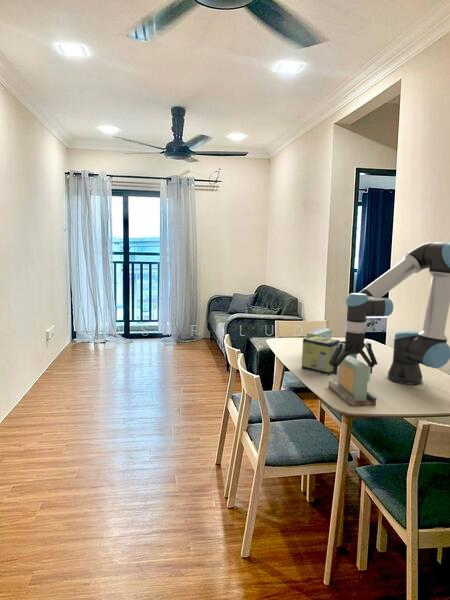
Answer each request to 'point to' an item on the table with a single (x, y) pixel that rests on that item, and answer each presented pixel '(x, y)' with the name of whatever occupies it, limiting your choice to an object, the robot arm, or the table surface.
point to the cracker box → (353, 378)
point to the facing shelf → (348, 399)
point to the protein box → (318, 354)
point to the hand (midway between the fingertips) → (351, 381)
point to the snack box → (321, 333)
